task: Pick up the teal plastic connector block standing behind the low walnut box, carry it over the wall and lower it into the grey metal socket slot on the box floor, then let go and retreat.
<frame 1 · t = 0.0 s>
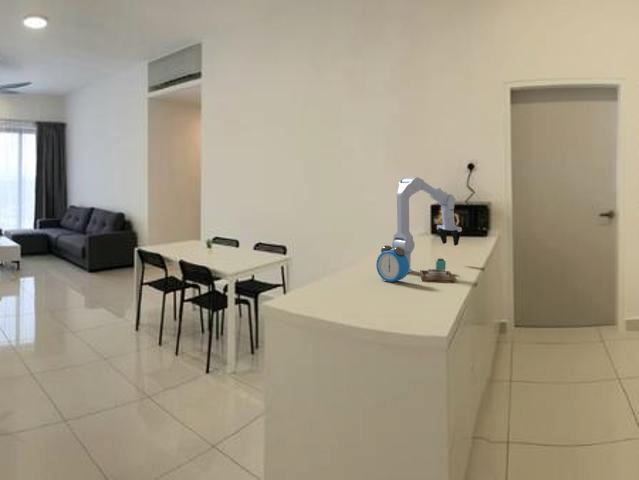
hand: (450, 244, 229), 11 cm above the countertop, tool pointing down, fingers open, 7 cm apart
connector: (440, 273, 208), on the countertop
alarm clock: (392, 281, 192), on the countertop
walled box: (436, 278, 197), on the countertop
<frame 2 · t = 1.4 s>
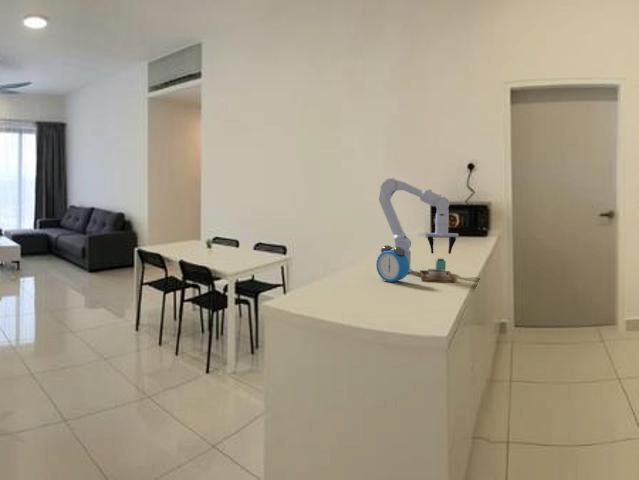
hand: (440, 253, 207), 9 cm above the countertop, tool pointing down, fingers open, 7 cm apart
nothing on the countertop moved.
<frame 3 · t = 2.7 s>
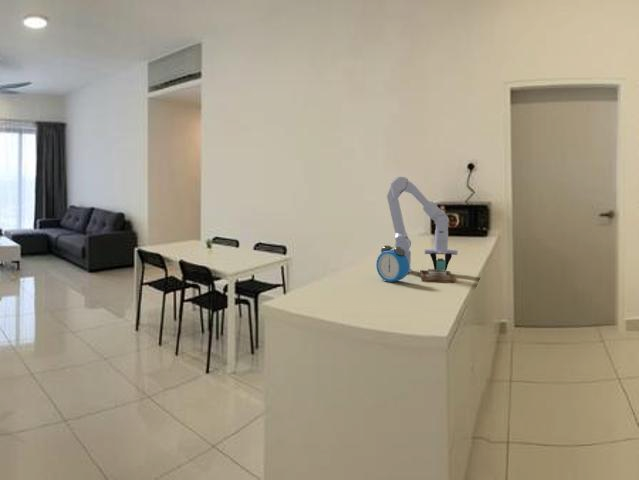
hand: (440, 269, 208), 2 cm above the countertop, tool pointing down, fingers closed on connector, 4 cm apart
connector: (440, 273, 208), on the countertop, touching gripper
everything else where it was.
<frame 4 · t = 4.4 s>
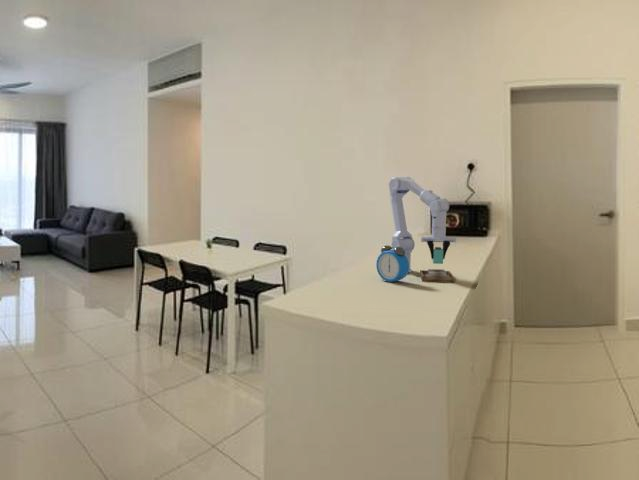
hand: (437, 258, 195), 9 cm above the countertop, tool pointing down, fingers closed on connector, 4 cm apart
connector: (437, 262, 196), point 7 cm above the countertop, touching gripper
everything else where it was.
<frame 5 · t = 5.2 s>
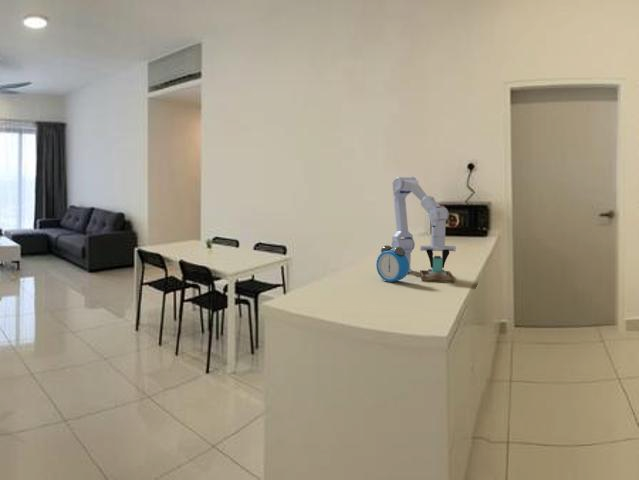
hand: (437, 267, 194), 5 cm above the countertop, tool pointing down, fingers closed on connector, 4 cm apart
connector: (436, 271, 195), point 3 cm above the countertop, touching gripper
everything else where it was.
when the fingers open (3 cm above the countertop, at t = 6.0 s): connector stays where it is, resting on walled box.
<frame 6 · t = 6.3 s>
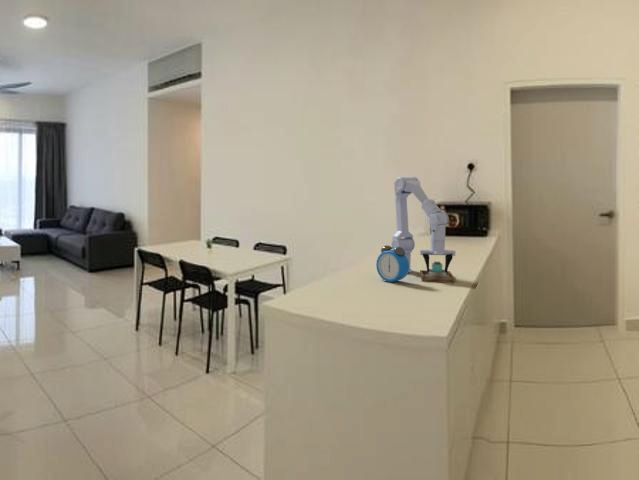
hand: (436, 271, 195), 3 cm above the countertop, tool pointing down, fingers open, 7 cm apart
connector: (436, 277, 195), point 1 cm above the countertop, touching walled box
everything else where it was.
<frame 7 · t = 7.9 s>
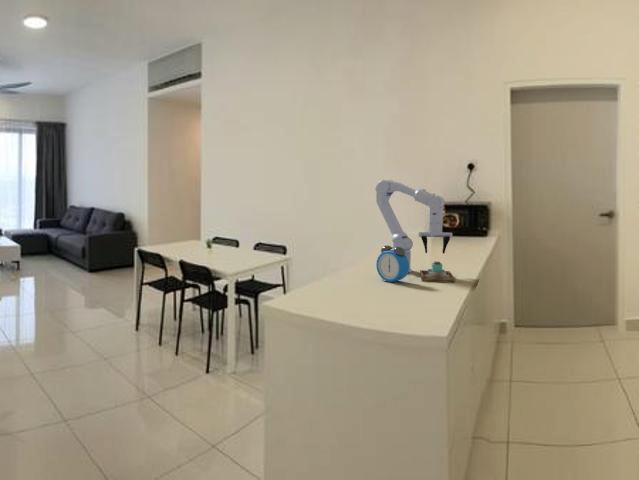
hand: (434, 252, 205), 10 cm above the countertop, tool pointing down, fingers open, 7 cm apart
nothing on the countertop moved.
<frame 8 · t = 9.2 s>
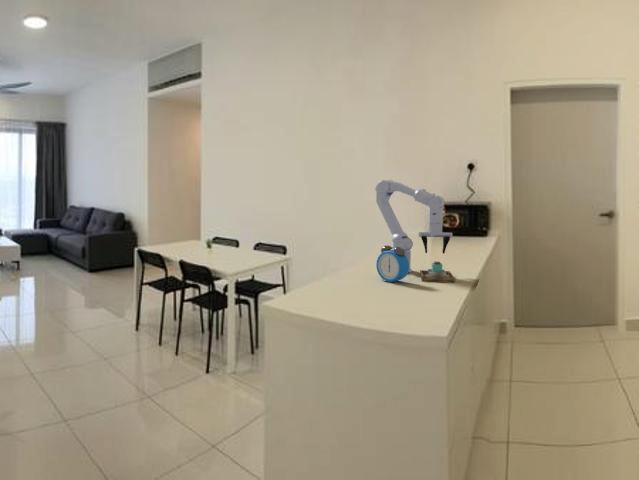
hand: (434, 252, 205), 10 cm above the countertop, tool pointing down, fingers open, 7 cm apart
nothing on the countertop moved.
at the end: connector 0.4 cm from the target spot on the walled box, point 0.8 cm above the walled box's base; connector tilted 0°; the gripper is holding nothing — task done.
